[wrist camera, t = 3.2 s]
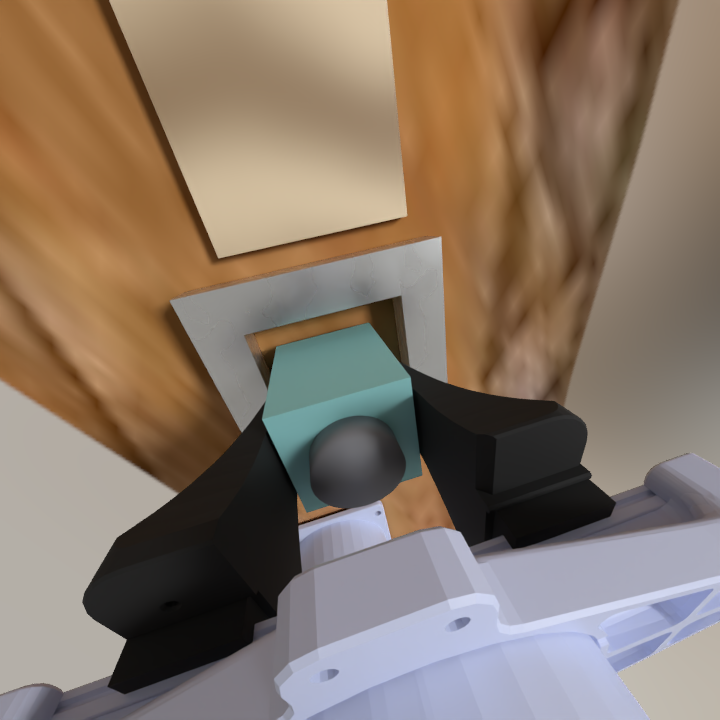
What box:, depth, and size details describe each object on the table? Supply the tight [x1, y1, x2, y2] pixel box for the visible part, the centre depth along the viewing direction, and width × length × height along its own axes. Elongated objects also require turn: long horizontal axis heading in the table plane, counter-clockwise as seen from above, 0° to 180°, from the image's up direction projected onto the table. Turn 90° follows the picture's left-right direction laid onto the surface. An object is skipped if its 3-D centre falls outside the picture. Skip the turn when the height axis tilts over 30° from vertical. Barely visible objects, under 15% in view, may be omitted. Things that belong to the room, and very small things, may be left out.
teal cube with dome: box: [262, 323, 422, 512], centre depth 11 cm, size 5×5×6 cm
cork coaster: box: [109, 0, 407, 258], centre depth 9 cm, size 8×8×1 cm
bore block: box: [169, 236, 447, 432], centre depth 14 cm, size 11×11×2 cm
